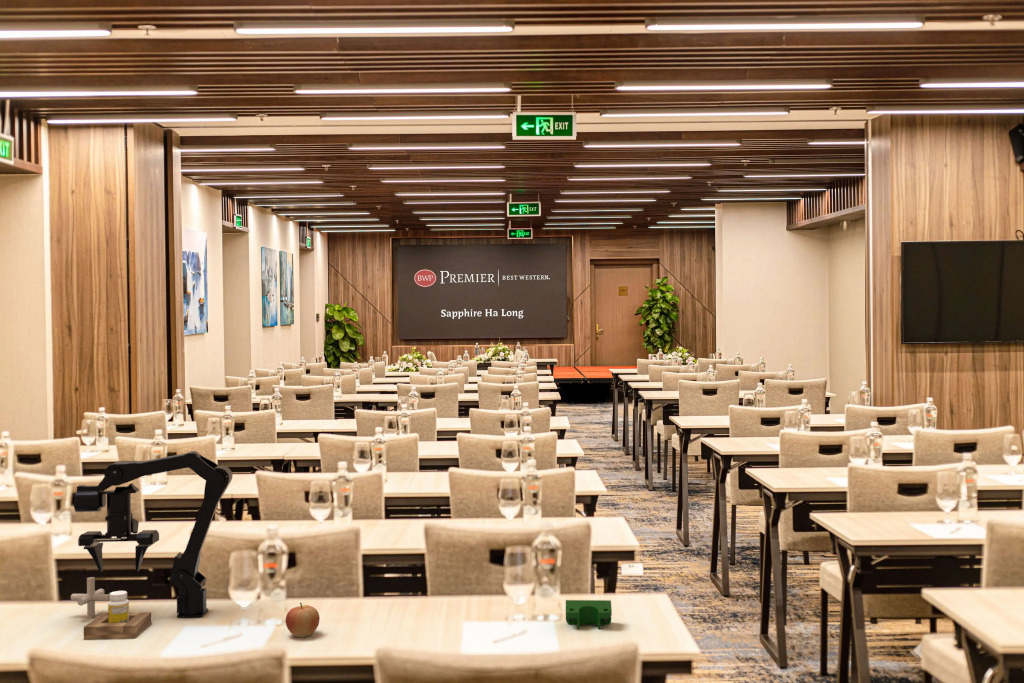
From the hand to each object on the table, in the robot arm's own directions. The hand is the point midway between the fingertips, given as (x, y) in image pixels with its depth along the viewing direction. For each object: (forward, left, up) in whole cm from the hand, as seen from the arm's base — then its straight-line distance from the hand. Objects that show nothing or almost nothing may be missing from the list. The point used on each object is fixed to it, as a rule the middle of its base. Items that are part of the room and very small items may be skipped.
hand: (119, 571), depth 247 cm
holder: (-4, +12, -12) cm, 17 cm away
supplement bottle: (-4, +12, -11) cm, 17 cm away
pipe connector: (+8, -2, -12) cm, 15 cm away
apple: (-50, +19, -12) cm, 55 cm away
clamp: (-119, +17, -12) cm, 121 cm away
